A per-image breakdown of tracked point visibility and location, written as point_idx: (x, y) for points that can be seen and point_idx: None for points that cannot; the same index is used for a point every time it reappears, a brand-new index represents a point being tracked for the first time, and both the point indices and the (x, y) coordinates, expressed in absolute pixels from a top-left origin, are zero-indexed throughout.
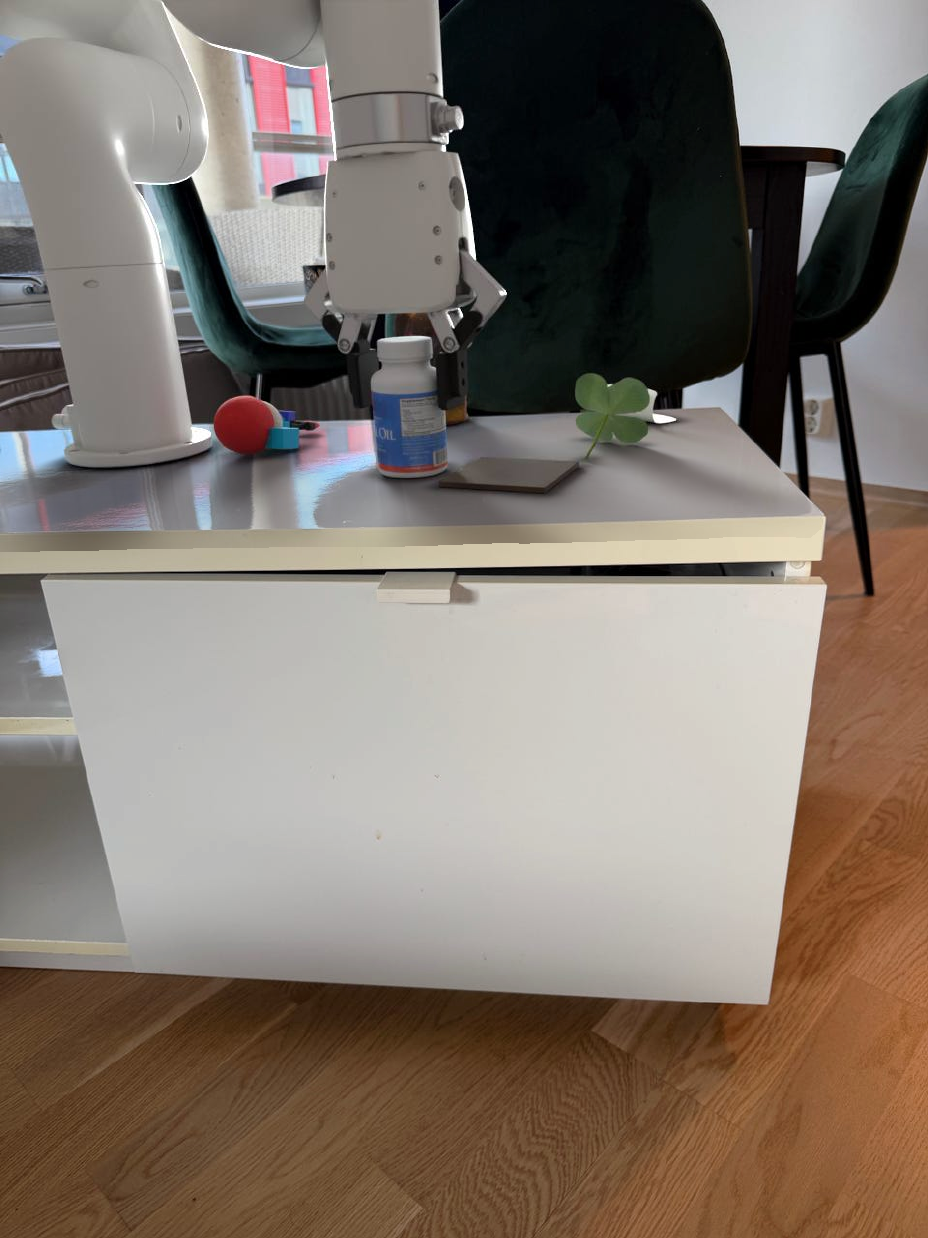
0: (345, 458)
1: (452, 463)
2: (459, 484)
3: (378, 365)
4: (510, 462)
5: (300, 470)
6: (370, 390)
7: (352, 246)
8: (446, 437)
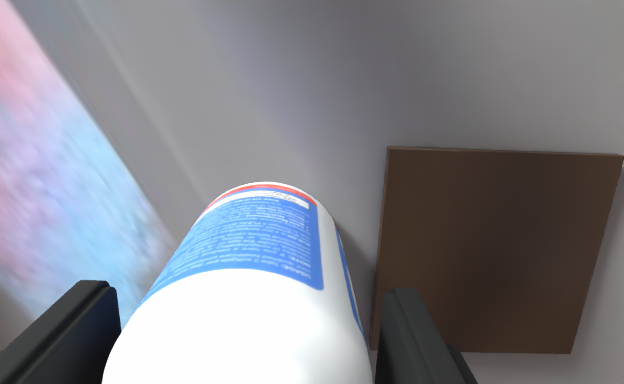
0: (36, 160)
1: (323, 166)
2: None
3: (40, 363)
4: (472, 192)
5: (18, 280)
6: (101, 370)
7: None
8: (345, 258)
